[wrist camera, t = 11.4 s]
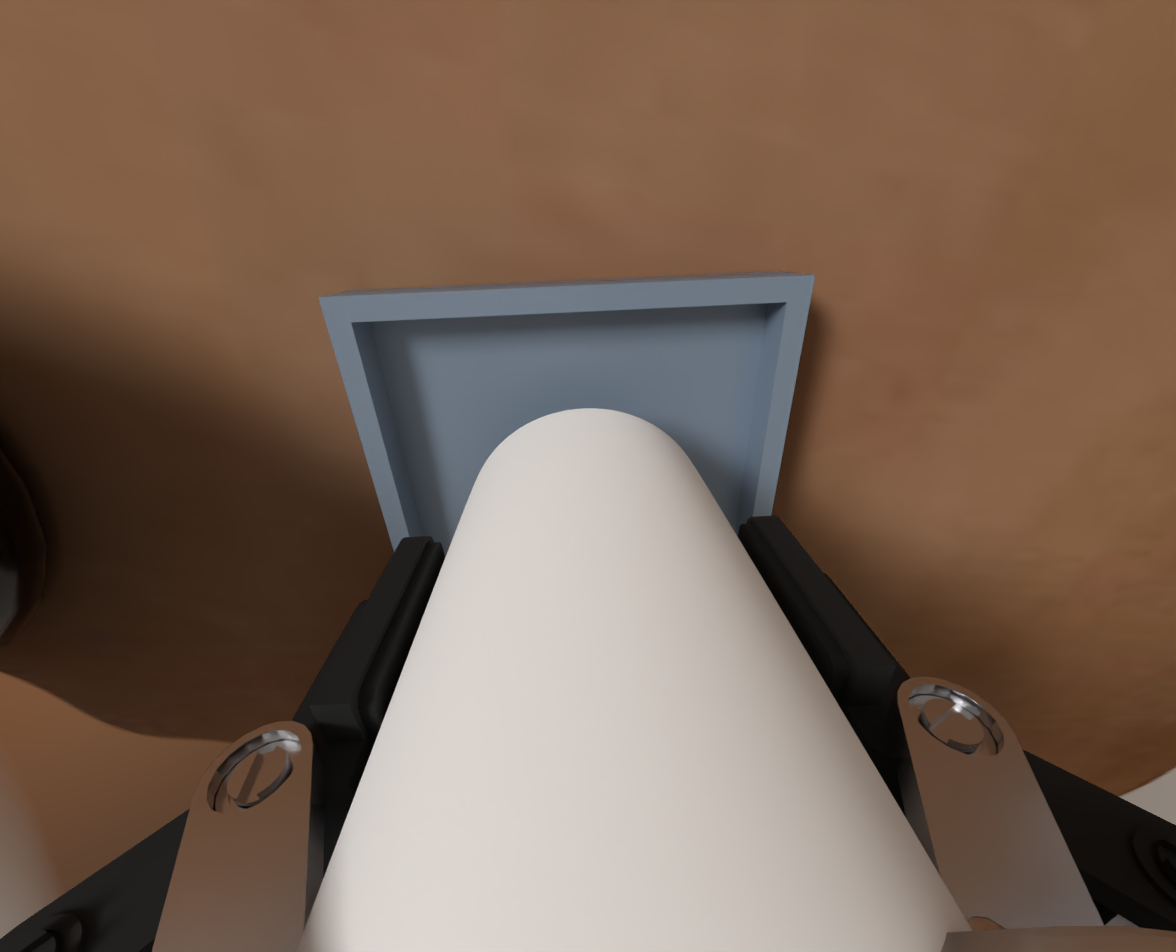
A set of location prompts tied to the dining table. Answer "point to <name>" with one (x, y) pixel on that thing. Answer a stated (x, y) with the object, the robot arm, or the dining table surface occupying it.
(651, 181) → the dining table surface
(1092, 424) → the dining table surface
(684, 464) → the can
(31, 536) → the amphora vase
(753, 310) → the tray
